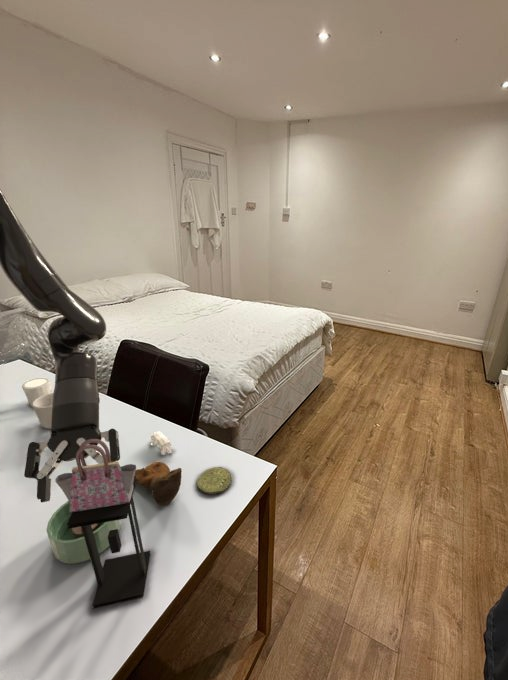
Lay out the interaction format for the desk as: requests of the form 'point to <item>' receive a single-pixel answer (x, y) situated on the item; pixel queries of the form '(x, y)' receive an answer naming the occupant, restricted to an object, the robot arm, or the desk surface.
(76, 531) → the brown wooden pestle
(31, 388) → the white cup
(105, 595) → the handbag
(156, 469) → the sculpture
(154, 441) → the figurine
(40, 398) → the cup
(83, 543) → the bowl
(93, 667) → the desk surface
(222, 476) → the medallion
